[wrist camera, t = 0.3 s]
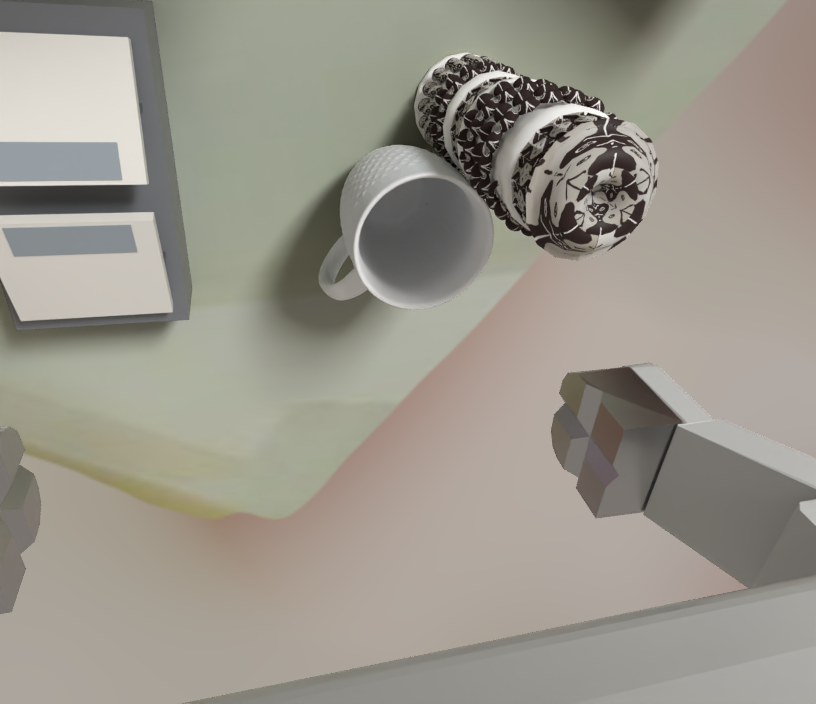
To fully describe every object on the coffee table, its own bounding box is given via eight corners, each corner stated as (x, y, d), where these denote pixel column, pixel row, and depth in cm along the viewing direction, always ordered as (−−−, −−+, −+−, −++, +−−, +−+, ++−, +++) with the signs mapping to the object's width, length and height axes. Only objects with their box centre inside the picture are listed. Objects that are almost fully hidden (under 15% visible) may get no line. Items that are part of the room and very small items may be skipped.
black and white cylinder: (503, 158, 57) (659, 274, 37) (406, 160, 55) (517, 284, 35) (517, 49, 52) (707, 114, 32) (412, 46, 50) (544, 115, 30)
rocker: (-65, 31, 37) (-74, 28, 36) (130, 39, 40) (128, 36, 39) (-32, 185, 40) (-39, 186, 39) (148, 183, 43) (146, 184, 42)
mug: (354, 292, 61) (381, 366, 50) (271, 218, 55) (282, 284, 44) (468, 188, 58) (522, 243, 47) (393, 97, 52) (436, 138, 41)
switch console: (-59, -11, 41) (-107, -3, 35) (152, 1, 44) (141, 10, 38) (32, 295, 53) (8, 339, 48) (192, 287, 57) (188, 327, 51)
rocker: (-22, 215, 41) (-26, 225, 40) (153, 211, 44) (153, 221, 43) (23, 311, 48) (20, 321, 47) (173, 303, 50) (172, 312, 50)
